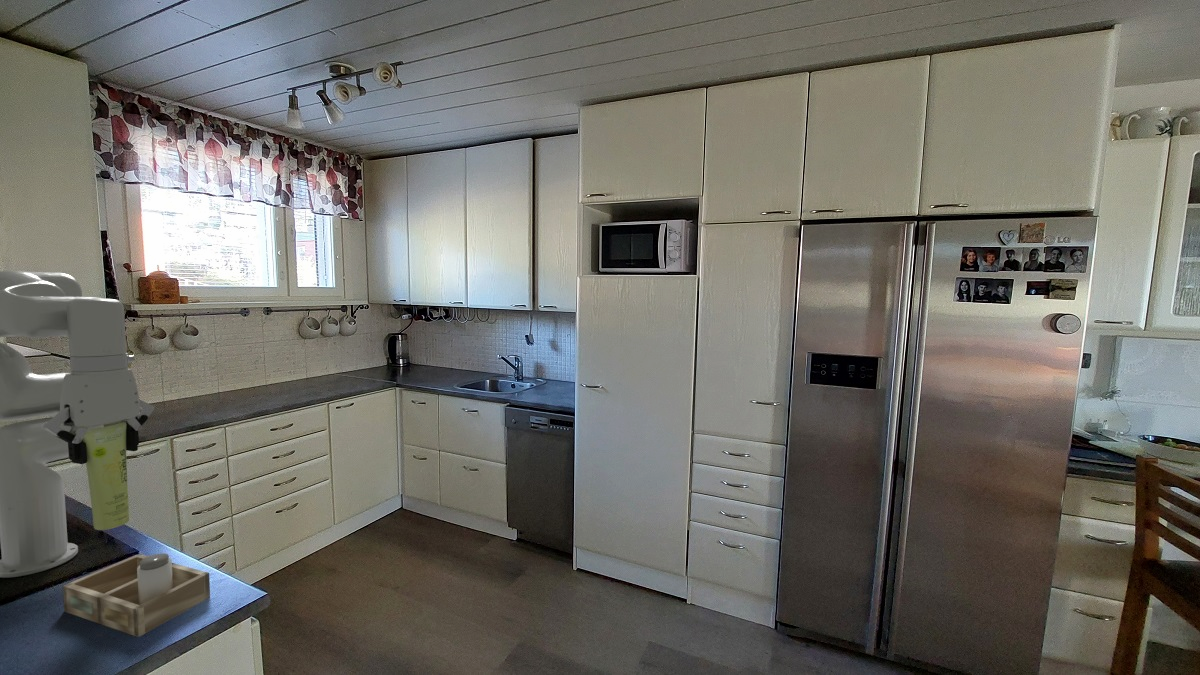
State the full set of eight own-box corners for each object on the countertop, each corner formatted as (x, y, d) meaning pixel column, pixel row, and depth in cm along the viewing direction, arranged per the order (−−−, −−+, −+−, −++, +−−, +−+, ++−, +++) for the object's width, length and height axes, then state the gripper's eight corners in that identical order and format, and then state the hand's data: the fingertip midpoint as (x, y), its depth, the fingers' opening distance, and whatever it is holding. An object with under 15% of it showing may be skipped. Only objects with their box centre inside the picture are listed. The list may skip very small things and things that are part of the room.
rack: (63, 616, 92) (61, 586, 91) (140, 580, 103) (139, 553, 103) (137, 642, 86) (135, 610, 85) (210, 601, 98) (209, 573, 97)
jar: (132, 614, 92) (130, 563, 91) (162, 599, 96) (160, 550, 95) (150, 620, 90) (148, 568, 89) (179, 604, 95) (177, 555, 94)
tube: (125, 528, 94) (118, 428, 92) (88, 534, 91) (80, 432, 90) (132, 516, 99) (126, 421, 97) (97, 522, 96) (90, 424, 94)
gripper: (140, 358, 102) (145, 441, 103) (22, 369, 85) (30, 469, 87) (166, 360, 100) (170, 445, 101) (49, 372, 83) (57, 474, 85)
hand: (106, 455), depth 94 cm, fingers closed on tube, 7 cm apart
